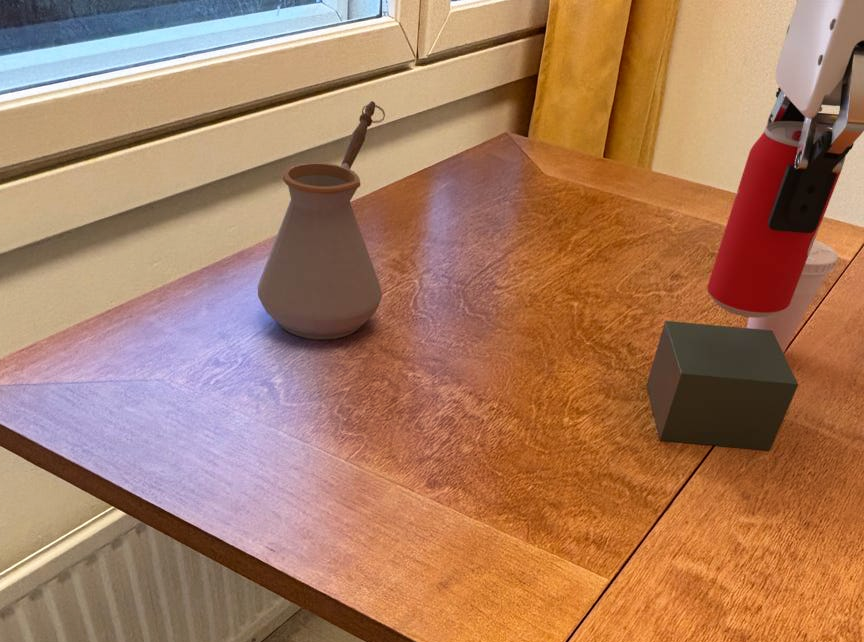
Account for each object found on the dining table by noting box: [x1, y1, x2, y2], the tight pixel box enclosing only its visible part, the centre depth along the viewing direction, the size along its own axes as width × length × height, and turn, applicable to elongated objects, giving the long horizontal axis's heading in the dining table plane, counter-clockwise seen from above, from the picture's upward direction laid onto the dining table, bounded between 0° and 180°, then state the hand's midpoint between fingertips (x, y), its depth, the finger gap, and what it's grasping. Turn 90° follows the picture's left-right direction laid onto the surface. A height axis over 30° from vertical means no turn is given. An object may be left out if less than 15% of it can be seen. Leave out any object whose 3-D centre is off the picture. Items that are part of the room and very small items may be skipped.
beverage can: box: [706, 121, 843, 318], centre depth 64 cm, size 6×6×12 cm
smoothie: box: [746, 239, 839, 353], centre depth 80 cm, size 6×6×14 cm
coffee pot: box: [257, 100, 386, 340], centre depth 82 cm, size 21×12×15 cm, turn 164°
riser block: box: [645, 320, 799, 452], centre depth 74 cm, size 9×9×6 cm
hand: (779, 209), depth 64 cm, fingers closed on beverage can, 6 cm apart
